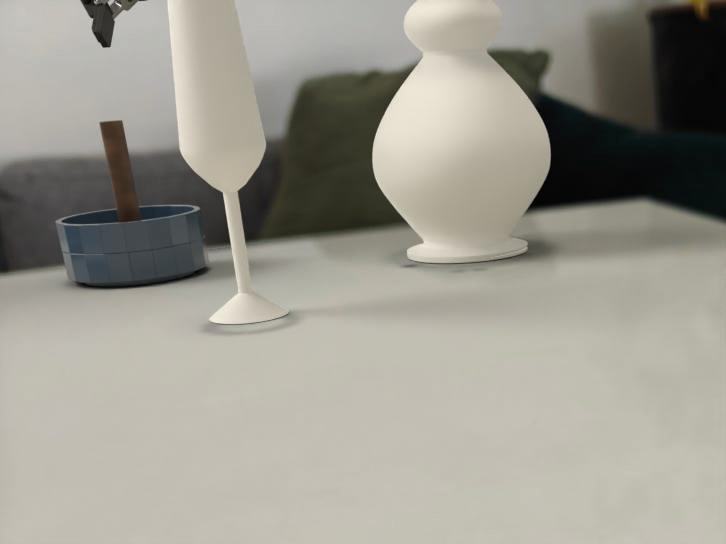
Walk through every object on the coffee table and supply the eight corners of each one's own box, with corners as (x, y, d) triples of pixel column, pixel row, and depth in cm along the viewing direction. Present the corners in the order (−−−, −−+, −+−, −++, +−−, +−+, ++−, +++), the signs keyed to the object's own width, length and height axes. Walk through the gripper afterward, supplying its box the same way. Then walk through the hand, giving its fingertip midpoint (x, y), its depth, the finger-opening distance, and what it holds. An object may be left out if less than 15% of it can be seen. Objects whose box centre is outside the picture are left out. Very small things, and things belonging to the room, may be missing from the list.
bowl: (51, 293, 110) (36, 228, 108) (90, 268, 123) (78, 210, 120) (195, 283, 110) (184, 218, 108) (220, 259, 123) (210, 201, 120)
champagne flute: (198, 325, 92) (139, -14, 81) (221, 308, 98) (168, -10, 87) (279, 322, 91) (230, -20, 80) (296, 304, 97) (253, -16, 86)
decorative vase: (585, 251, 113) (581, -39, 101) (423, 275, 106) (398, -32, 95) (504, 233, 127) (492, -23, 116) (357, 253, 121) (328, -16, 109)
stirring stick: (111, 274, 114) (80, 124, 108) (122, 267, 118) (93, 121, 112) (156, 271, 114) (128, 120, 108) (166, 264, 118) (139, 118, 112)
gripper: (82, -108, 119) (59, 14, 114) (211, -120, 117) (193, 3, 112) (113, -46, 126) (93, 71, 121) (236, -57, 124) (219, 62, 119)
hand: (141, 38), depth 117 cm, fingers open, 8 cm apart
